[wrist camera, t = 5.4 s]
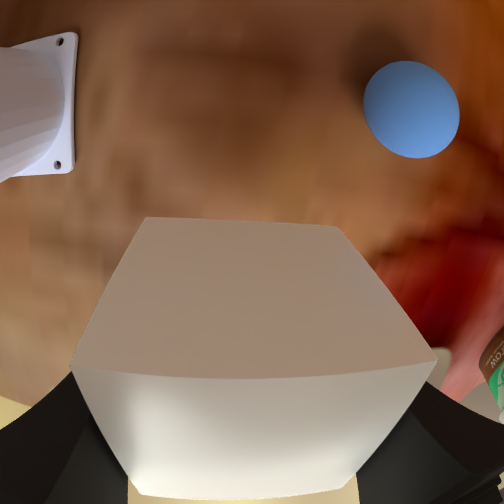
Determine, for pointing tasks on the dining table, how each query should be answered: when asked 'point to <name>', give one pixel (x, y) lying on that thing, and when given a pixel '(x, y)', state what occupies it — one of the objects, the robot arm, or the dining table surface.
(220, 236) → the white cube block
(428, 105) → the ball
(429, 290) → the dining table surface
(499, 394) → the food container
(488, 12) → the dining table surface
